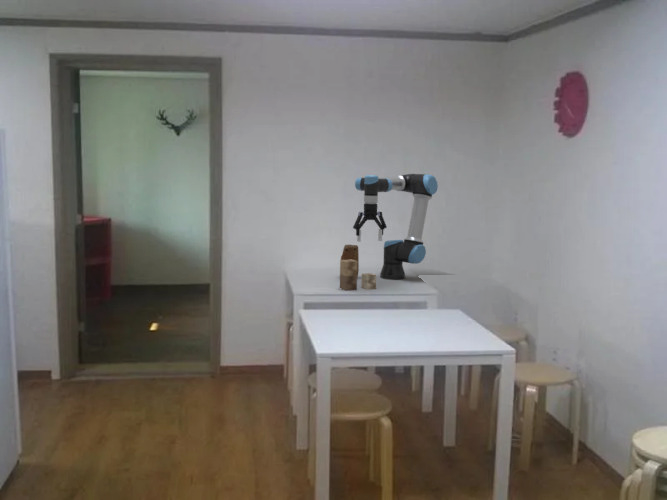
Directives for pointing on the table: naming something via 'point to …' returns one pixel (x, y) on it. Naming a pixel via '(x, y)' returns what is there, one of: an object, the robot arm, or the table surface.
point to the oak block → (348, 267)
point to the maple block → (368, 281)
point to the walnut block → (348, 282)
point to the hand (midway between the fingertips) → (369, 241)
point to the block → (351, 254)
